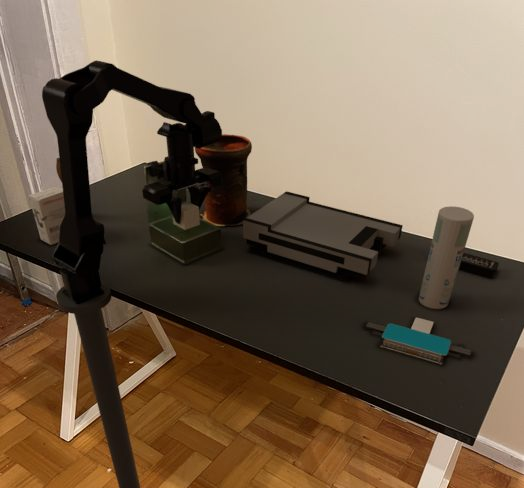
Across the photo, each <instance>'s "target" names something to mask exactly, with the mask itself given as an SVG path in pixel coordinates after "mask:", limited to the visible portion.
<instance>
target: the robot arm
mask: <svg viewBox="0 0 524 488" xmlns="http://www.w3.org/2000/svg"><path fill="white" fill-rule="evenodd" d="M111 91H113V92H116V93H119V94H121V95H122V96H125V97H128V98H131V99H133V100H136V101H138V102H140V103H143V104H144V105H145V104H146V105H147V106H149V107H150V109H152V110H153V111H154V112H155V113H156V114H158V115H159V116H161V117H162V118H165V119H168V120H171V121H174V122H176V123H169V122H165V121H164V122H162V125H161V127H159V128H158V130H157V132H156V134H157V135H159V136H162V137H165V138H166V140H165V141H166V150H167V156H165V157H164V159H163V161H164V163H162V164H159V163H158V160H152V161H149V162H147V166H148V165H150V166H151V177H155V176H158V179H160V178H164V180H165V181H167V182H168V181H170V182H171V184H168V185H163V184H161V183H159V182H155V183H152V184H148V185H145V184H144V186H143V188H142V191H141V192H142V198H143V199H145V200H146V199H147V200H148V201H150V202H152V203H154V204H156V205H161V204H164V203H166V204H167V205H168V207H169V209H170V211H171V213H172V215H171V216H173V217H174V219H175V221H176V223H178V224H180V221H181V205H182V199H180V198H178V197H177V191H180V190H183V189H186V190H188V193H189V198H190V201H189V202H190V203H192V204H194V205H196V206H198V207H199V211H200V210H201V208H202V205H203V203H204V201H205V198H206V196H207V194H208V192H210V191H211V188H209V187H207V182H208V181H209V184H210V185H211V186H212V187H215V186H218V185H221V184H222V175H221V174H220V172H219V171H216V170H214V169H211V168H209V167H204V168H203V167H201V168H198V169H196V165H198V164H199V158H197V157H195V148H202V147H205V146H208V145H211V144H214V143H217V142H219V141H220V139H221V137H222V134H223V129H222V127H221V124H220V122H219V121H218V119H217V118H216V114H215V112H214V111H210V110H206V111H204V112H201V110H200V109H199V107H198V106H197V104H196V101H195V100H196V98H195V96H194V95H192V94H191V93H189V92H185V91H181V90H176V89H173V88H169V87H163V86H158V85H156V84H155V83H152V82H150V81H147V80H145V79H143V78H140V77H139V76H136V75H135V74H132V73H130V72H127V71H125V70H123V69H121V68H118V67H117V66H116V65H115V64H114V63H111V62H106V61H102V60H98V59H97V60H93V61H92V62H89V63H88V64H87V65H85V66H83V67H81V68H79V69H75V70H73V71H71V72H68V73H66V74H64V75H62V76H61V77H59V78H58V77H57V78H56V77H55V78H51V79H50V80H48V81H47V82H46V84H45V85H44V86H43V87H42V90H41V99H42V102H43V107H44V110H45V114H46V117H47V119H48V121H49V123H50V125H51V127H52V129H53V132H54V133H55V135H56V138H57V147H58V148H57V149H58V158H59V159H60V168H61V177H62V182H61V187H63V196H64V205H65V216H64V218H63V221H62V223H61V225H60V236H59V242H58V243H57V245H56V246H55V249H54V250H53V252H52V253H51V256H50V259H51V260H52V262H53V263H54V264H55V265H56V266H58V267H60V269H59V273H60V277H61V280H62V284H63V286H64V288H65V289H64V290H62V293H63V294H64V295H66V296H67V297H68V298H69V299H71V300H72V301H73V302H74V303H75V304H80V303H83V302H85V301H87V300H90V299H92V298H95V297H97V296H99V295H102V294H104V290H103V289H101V288H100V287H101V286H102V285H101V281H102V280H101V275H100V267H101V261H102V260H101V259H102V255H103V253H104V248H105V247H104V245H107V242H106V240H105V225H104V223H102V222H99V221H98V220H95V219H94V216H93V211H92V199H91V187H90V174H89V173H90V172H89V161H88V149H87V136H88V133H89V132H90V129H91V127H92V125H93V119H94V118H93V117H94V116H93V115H94V110H95V108H97V107H98V106H100V105H101V104H103V103H104V101H105V100H106V98H107V96H108V95H109V93H110V92H111Z"/></svg>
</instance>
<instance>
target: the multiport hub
mask: <svg viewBox="0 0 524 488" xmlns="http://www.w3.org/2000/svg"><path fill="white" fill-rule="evenodd" d="M499 265H500V262H498V261H495V260H491V259H488V258H485V257H480V256H477V255H473V254H470V253H466V252H464V253H463V256H462V259H461V263H460V266H459V270H458V271H462V272H465V273H469V274H473V275H477V276H480V277H483V278H486V279H491V280H492V279H493V278H494V277H495V275H496V273H497V271H498V268H499Z"/></svg>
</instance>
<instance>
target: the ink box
mask: <svg viewBox="0 0 524 488" xmlns="http://www.w3.org/2000/svg"><path fill="white" fill-rule="evenodd" d="M28 199H29V203H30V207H31V209H32V210H31V211H32V213H33V217H34V221H35V224H36V228H37V231H38V234H39V239H40V240H41V241H43V242H45V243H46V244H48V245H50V246H53V245H56V244H58V243H59V236H60V225H61V223H62V221H63V218H64V216H65V205H64V196H63V186H62V185H57V186H54V187H50V188H47V189H44V190H41V191H37V192H35V193H31V194H29V195H28Z"/></svg>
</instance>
